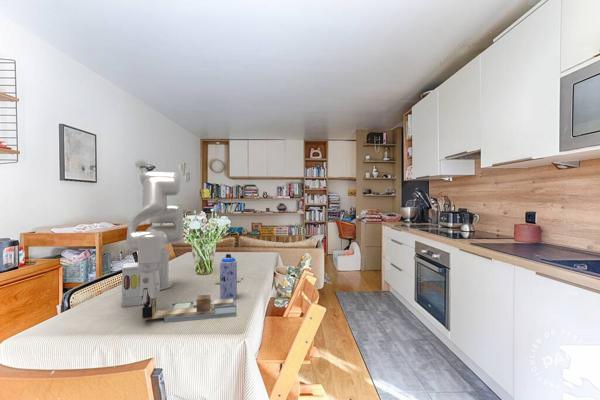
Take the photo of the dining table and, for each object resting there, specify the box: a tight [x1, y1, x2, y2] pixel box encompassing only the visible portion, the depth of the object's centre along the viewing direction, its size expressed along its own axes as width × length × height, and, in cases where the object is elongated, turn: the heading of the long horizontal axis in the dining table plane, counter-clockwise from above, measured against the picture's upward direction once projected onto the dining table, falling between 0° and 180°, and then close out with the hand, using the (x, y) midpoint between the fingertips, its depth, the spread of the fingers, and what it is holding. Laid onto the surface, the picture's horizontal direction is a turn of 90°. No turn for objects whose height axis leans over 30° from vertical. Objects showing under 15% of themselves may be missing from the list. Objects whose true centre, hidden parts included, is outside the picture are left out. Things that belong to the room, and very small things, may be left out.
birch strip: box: [142, 296, 215, 321], centre depth 112 cm, size 25×5×7 cm, turn 103°
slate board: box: [163, 298, 237, 324], centre depth 118 cm, size 26×16×1 cm, turn 103°
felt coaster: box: [173, 302, 191, 310], centre depth 120 cm, size 6×6×1 cm
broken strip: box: [193, 299, 233, 308], centre depth 123 cm, size 16×5×1 cm, turn 103°
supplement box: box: [121, 261, 143, 308], centre depth 127 cm, size 10×9×17 cm
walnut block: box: [196, 294, 211, 312], centre depth 114 cm, size 5×5×5 cm
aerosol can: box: [219, 253, 238, 300], centre depth 134 cm, size 8×8×20 cm
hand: (149, 313), depth 110 cm, fingers closed on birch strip, 5 cm apart
